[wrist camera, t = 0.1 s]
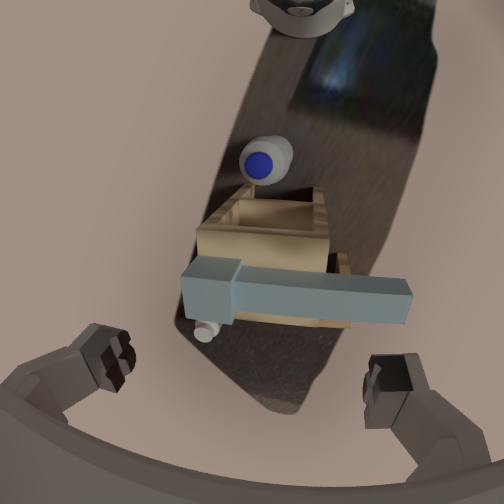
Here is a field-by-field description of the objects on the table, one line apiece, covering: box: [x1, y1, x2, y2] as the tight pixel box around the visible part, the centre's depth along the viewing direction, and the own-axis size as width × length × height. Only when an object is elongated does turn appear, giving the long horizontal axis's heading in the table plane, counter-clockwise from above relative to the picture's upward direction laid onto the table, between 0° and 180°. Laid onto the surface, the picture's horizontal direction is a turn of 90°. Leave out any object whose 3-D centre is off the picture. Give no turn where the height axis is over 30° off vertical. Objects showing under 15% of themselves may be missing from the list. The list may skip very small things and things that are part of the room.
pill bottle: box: [194, 320, 223, 342], centre depth 64 cm, size 5×5×10 cm
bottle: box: [239, 136, 293, 186], centre depth 43 cm, size 7×7×20 cm
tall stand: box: [196, 183, 330, 327], centre depth 45 cm, size 11×14×26 cm
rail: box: [181, 255, 413, 325], centre depth 30 cm, size 5×23×5 cm, turn 89°
